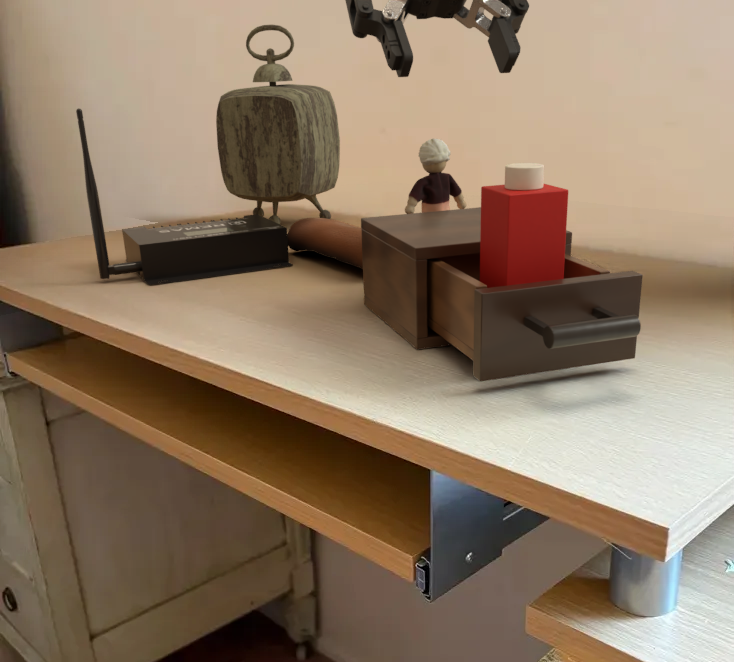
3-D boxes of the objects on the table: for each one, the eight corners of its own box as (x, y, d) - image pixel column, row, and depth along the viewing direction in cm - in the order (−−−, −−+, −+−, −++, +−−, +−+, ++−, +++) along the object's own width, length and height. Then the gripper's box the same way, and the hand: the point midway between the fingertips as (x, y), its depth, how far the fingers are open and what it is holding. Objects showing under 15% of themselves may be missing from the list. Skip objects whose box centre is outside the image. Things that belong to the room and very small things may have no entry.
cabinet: (566, 329, 66) (572, 232, 63) (417, 350, 63) (415, 248, 60) (492, 289, 79) (494, 205, 76) (363, 304, 75) (360, 217, 72)
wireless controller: (255, 243, 102) (242, 96, 96) (294, 265, 91) (283, 98, 84) (88, 264, 95) (62, 105, 88) (107, 291, 83) (78, 110, 76)
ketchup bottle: (531, 316, 63) (538, 159, 58) (560, 333, 59) (570, 166, 54) (478, 323, 62) (481, 164, 57) (504, 340, 58) (509, 170, 53)
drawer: (673, 378, 53) (683, 289, 51) (509, 405, 50) (512, 311, 48) (546, 311, 68) (549, 239, 66) (413, 328, 65) (412, 253, 63)
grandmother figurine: (445, 251, 95) (444, 134, 90) (470, 255, 92) (471, 136, 87) (396, 263, 90) (394, 141, 85) (422, 268, 87) (421, 143, 82)
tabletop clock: (343, 220, 115) (334, 22, 105) (313, 233, 107) (300, 20, 98) (254, 216, 120) (237, 28, 111) (219, 228, 113) (198, 27, 103)
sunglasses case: (438, 263, 86) (410, 212, 83) (391, 307, 85) (361, 257, 81) (347, 238, 101) (319, 193, 97) (305, 276, 99) (276, 231, 95)
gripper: (330, -127, 64) (380, 30, 58) (499, -122, 68) (561, 25, 62) (318, -41, 71) (361, 107, 65) (471, -42, 75) (525, 98, 69)
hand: (459, 67), depth 64 cm, fingers open, 8 cm apart
